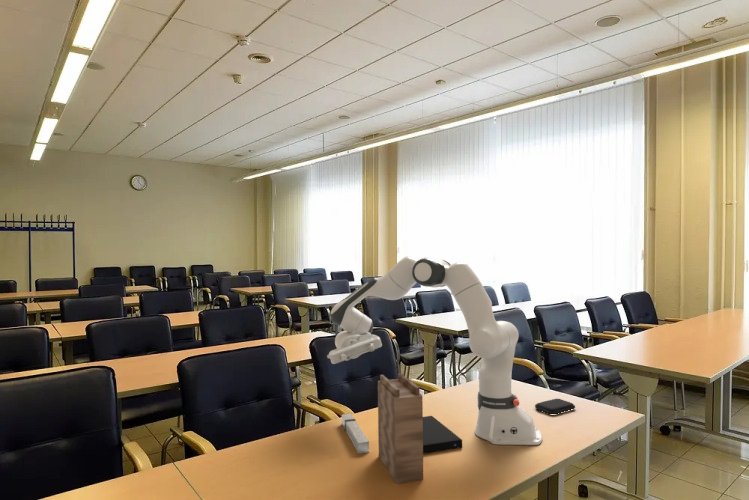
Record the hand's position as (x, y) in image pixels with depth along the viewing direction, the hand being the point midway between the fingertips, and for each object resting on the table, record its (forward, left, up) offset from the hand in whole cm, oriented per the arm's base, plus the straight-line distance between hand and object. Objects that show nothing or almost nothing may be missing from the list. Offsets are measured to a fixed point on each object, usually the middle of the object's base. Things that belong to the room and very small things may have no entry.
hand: (360, 353), depth 171 cm
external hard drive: (-25, +1, -28) cm, 38 cm away
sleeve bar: (0, +7, -28) cm, 29 cm away
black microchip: (-70, -37, -28) cm, 84 cm away
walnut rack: (-19, +25, -28) cm, 42 cm away
